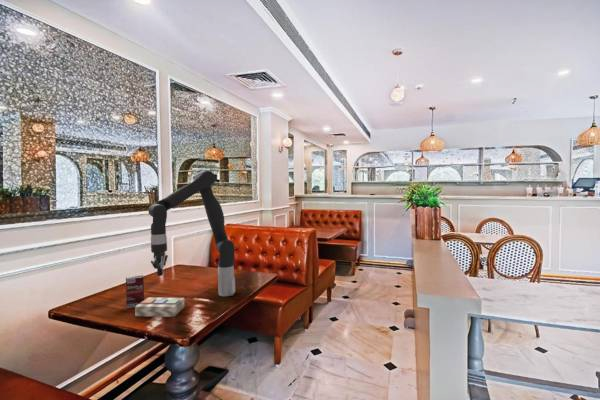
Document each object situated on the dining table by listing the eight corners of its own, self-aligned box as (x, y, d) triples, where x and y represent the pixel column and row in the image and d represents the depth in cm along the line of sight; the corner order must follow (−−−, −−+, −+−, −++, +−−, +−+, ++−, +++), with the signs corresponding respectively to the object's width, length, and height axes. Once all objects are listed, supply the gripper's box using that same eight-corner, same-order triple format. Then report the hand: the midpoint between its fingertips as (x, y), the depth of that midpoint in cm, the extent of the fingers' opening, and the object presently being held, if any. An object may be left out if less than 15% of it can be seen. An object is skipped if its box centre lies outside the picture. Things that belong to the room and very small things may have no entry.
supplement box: (126, 308, 161) (125, 279, 160) (126, 305, 165) (125, 277, 164) (144, 305, 165) (143, 277, 164) (144, 302, 169) (143, 274, 168)
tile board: (184, 306, 162) (184, 297, 162) (173, 316, 150) (173, 306, 150) (148, 306, 163) (148, 297, 163) (135, 316, 151) (135, 306, 151)
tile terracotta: (155, 306, 160) (155, 298, 159) (150, 310, 155) (150, 302, 154) (146, 306, 160) (146, 298, 160) (141, 310, 155) (140, 302, 155)
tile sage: (179, 306, 159) (179, 299, 159) (175, 310, 154) (174, 303, 154) (170, 306, 159) (170, 299, 159) (165, 310, 154) (165, 302, 154)
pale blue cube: (167, 306, 159) (167, 299, 159) (162, 310, 154) (162, 302, 154) (158, 306, 159) (158, 299, 159) (153, 310, 154) (153, 302, 154)
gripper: (159, 245, 148) (160, 279, 149) (172, 240, 162) (173, 271, 163) (144, 245, 149) (146, 279, 150) (158, 240, 162) (159, 271, 163)
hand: (160, 275), depth 156 cm, fingers closed
